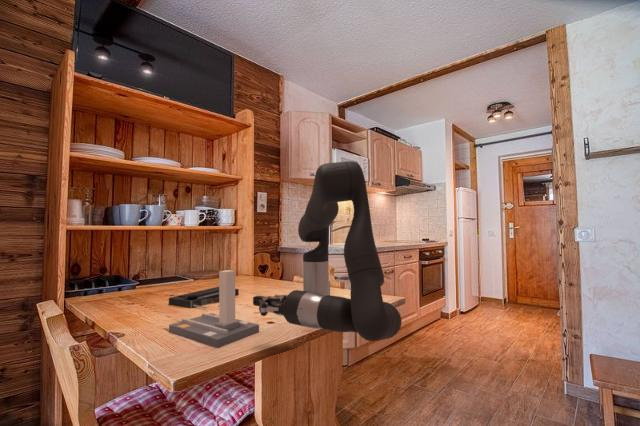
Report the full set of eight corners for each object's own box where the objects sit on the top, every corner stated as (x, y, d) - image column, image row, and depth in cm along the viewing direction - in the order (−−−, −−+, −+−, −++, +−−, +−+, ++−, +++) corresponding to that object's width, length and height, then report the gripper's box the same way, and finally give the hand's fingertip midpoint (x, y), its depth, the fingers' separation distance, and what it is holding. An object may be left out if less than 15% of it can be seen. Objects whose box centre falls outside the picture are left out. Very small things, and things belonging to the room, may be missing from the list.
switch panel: (211, 319, 100) (211, 310, 100) (259, 331, 87) (258, 320, 87) (169, 331, 88) (169, 321, 88) (217, 347, 76) (217, 335, 76)
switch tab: (229, 324, 88) (229, 269, 88) (239, 326, 85) (239, 270, 86) (215, 329, 83) (215, 271, 84) (224, 331, 81) (224, 272, 82)
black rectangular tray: (217, 284, 143) (250, 287, 134) (217, 293, 143) (250, 297, 133) (168, 294, 121) (203, 299, 111) (168, 305, 121) (203, 311, 111)
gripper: (325, 287, 74) (273, 281, 84) (289, 297, 63) (234, 289, 73) (326, 319, 74) (273, 309, 84) (290, 334, 63) (234, 321, 73)
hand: (255, 300), depth 78 cm, fingers closed
